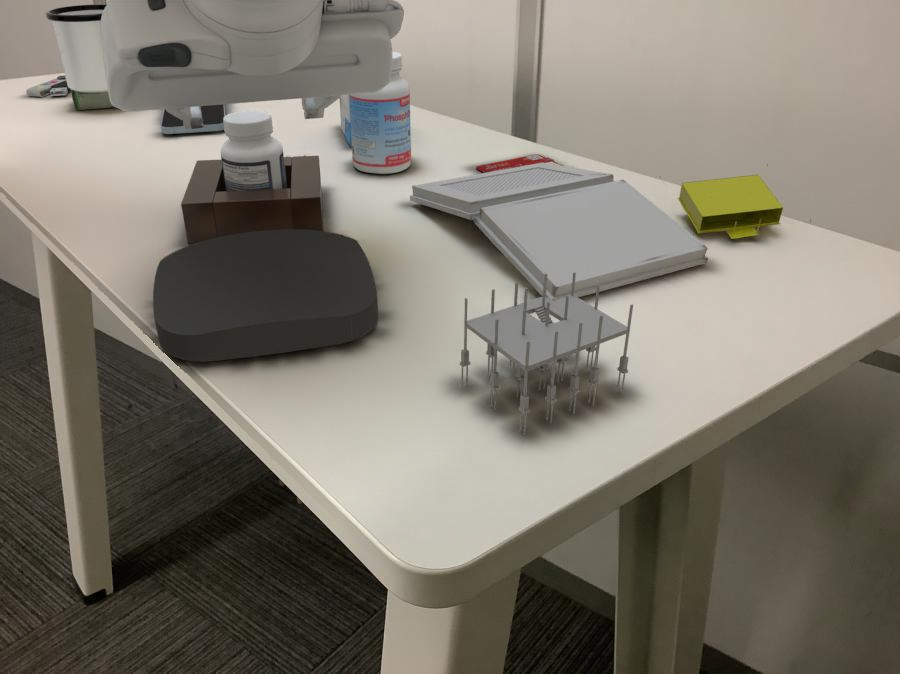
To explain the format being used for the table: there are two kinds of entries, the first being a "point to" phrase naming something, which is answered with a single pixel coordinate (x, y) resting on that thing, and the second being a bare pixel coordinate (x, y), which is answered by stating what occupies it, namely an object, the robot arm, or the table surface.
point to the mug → (80, 45)
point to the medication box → (90, 100)
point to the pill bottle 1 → (252, 153)
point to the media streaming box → (263, 295)
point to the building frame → (545, 340)
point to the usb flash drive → (56, 89)
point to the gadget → (568, 226)
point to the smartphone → (210, 122)
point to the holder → (252, 202)
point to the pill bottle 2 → (382, 126)
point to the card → (515, 163)
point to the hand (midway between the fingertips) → (253, 115)
